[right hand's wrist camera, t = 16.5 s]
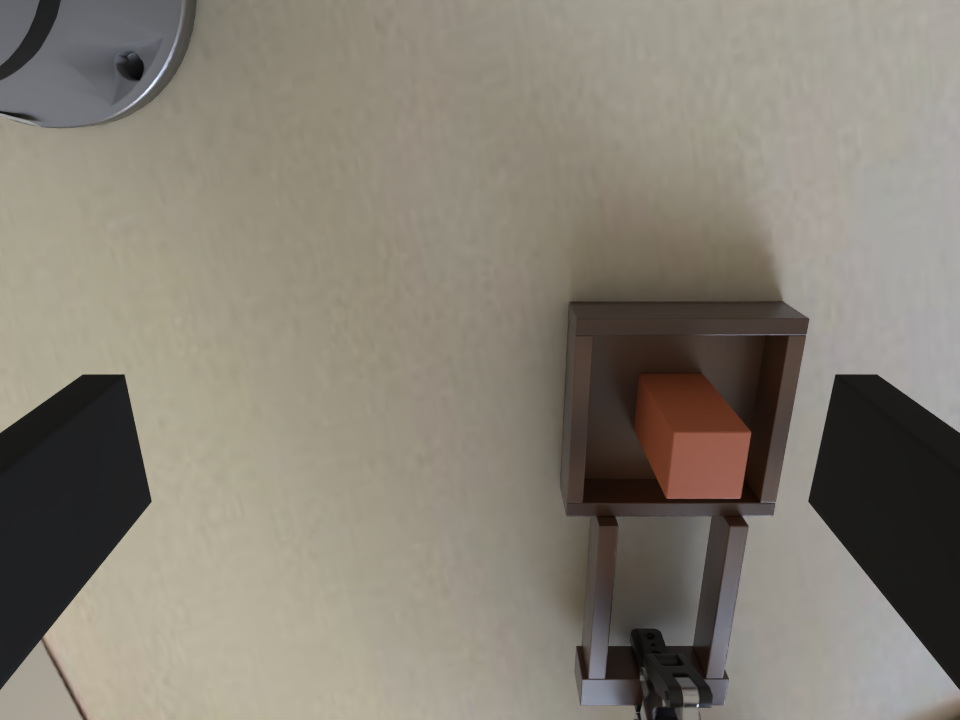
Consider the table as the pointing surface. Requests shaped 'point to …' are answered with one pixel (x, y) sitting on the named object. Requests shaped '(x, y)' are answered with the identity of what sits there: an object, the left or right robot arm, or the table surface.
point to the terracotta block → (691, 437)
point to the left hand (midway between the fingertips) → (642, 650)
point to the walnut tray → (629, 476)
